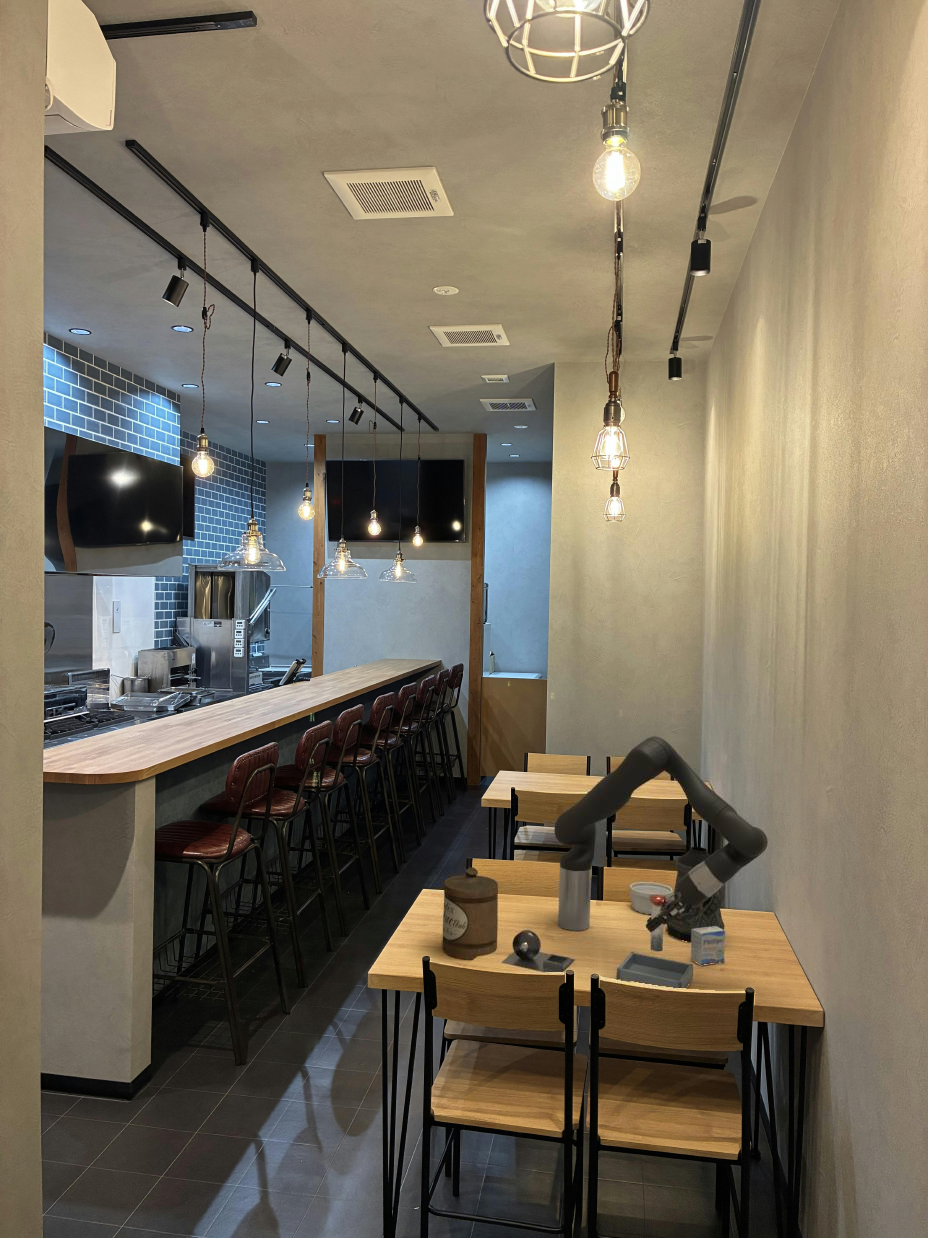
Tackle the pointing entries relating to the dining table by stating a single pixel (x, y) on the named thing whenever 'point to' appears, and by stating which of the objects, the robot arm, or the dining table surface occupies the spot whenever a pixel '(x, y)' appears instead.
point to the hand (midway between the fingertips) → (648, 926)
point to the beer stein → (692, 915)
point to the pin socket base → (535, 955)
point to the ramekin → (647, 895)
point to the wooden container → (470, 915)
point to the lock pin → (658, 932)
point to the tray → (655, 971)
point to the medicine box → (707, 945)
